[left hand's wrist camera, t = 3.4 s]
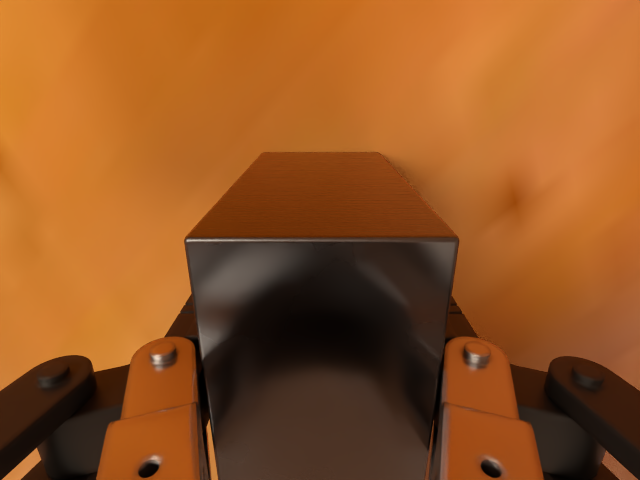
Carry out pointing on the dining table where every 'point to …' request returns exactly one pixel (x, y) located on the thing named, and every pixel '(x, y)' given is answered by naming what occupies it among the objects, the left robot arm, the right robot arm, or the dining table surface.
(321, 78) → the dining table surface
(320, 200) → the bar
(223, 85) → the dining table surface
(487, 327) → the dining table surface
